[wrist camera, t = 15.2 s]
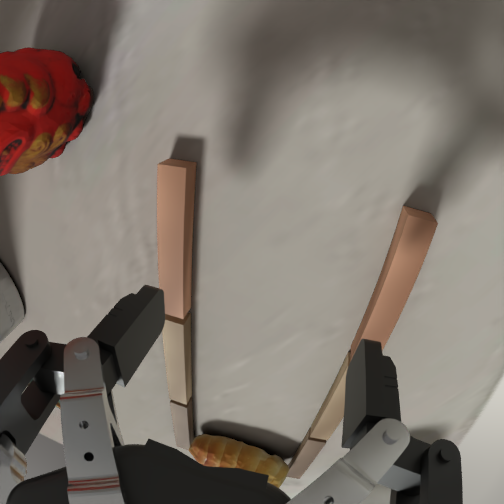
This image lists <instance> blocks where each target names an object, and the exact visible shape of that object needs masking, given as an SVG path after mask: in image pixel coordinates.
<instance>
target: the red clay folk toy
mask: <svg viewBox="0 0 504 504" xmlns="http://www.w3.org/2000/svg"><path fill="white" fill-rule="evenodd" d="M80 73H81V71H80V70H79V67H78V65H77V64H76V62H74V61H73V60H72V58H70V57H69V56H67V55H66V54H64V53H63V52H60V51H55V50H46V49H34V48H23V49H19V50H17V51H15V52H9V51H7V52H3V53H0V176H2V175H5V174H8V173H9V174H18V173H23V172H25V171H28V170H29V169H32V168H34V167H36V166H38V165H41V164H43V163H44V162H45V161H46V160H48V158H55V157H58V156H60V155H61V154H62V153H63V151H64V149H65V146H66V142H68V141H71V140H74V139H76V138H77V137H78V136H79V134H80V133H81V132H82V130H83V124H84V122H85V119H86V117H87V114H88V113H89V111H90V110H91V107H92V104H93V99H94V97H93V90H92V88H91V87H90V86H88V85H87V83H86V81H85V79H79V78H80Z"/></svg>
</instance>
